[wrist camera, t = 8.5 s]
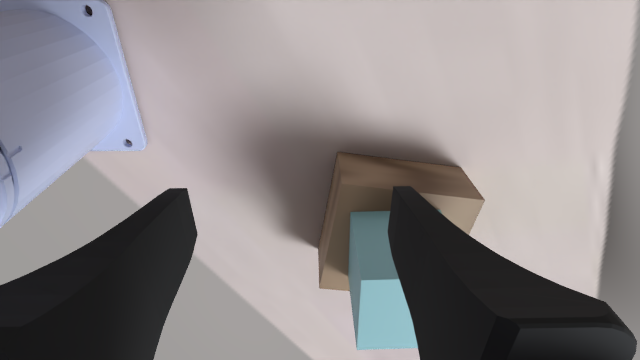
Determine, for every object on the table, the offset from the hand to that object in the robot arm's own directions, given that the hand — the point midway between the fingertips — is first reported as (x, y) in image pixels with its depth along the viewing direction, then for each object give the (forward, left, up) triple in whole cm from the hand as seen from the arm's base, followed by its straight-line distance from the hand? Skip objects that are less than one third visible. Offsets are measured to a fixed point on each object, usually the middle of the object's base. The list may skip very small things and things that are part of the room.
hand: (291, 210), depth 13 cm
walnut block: (+6, -7, -10) cm, 13 cm away
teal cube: (+5, -7, -6) cm, 10 cm away
